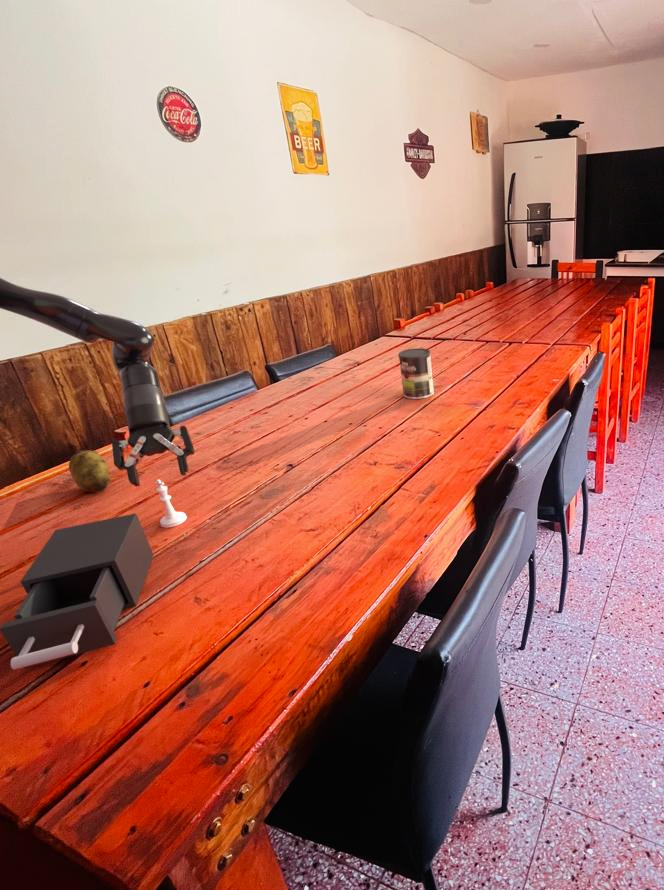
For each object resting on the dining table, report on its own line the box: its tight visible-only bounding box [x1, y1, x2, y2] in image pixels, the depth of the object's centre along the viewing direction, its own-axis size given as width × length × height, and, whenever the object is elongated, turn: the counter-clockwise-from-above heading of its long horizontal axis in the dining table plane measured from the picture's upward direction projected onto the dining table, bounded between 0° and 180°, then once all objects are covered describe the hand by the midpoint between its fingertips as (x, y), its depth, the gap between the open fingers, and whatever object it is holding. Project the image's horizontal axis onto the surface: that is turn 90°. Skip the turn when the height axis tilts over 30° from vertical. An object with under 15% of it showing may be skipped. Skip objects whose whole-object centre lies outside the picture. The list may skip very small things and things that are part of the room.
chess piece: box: [154, 478, 188, 529], centre depth 106 cm, size 5×5×10 cm
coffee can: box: [397, 347, 435, 400], centre depth 167 cm, size 10×10×14 cm
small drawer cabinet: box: [20, 513, 154, 610], centre depth 87 cm, size 15×13×10 cm
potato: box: [68, 449, 111, 493], centre depth 122 cm, size 8×13×8 cm, turn 28°
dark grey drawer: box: [0, 565, 126, 670], centre depth 77 cm, size 19×11×8 cm, turn 20°
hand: (160, 479), depth 105 cm, fingers open, 8 cm apart
